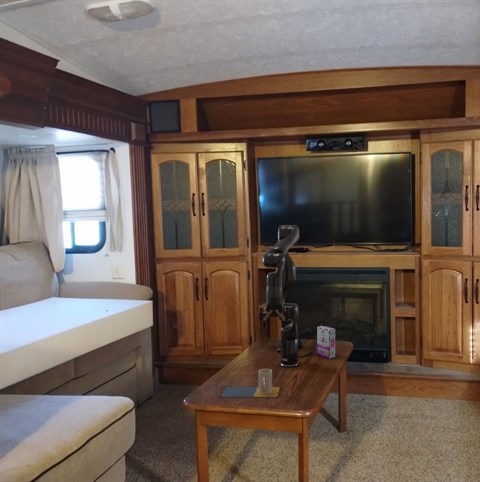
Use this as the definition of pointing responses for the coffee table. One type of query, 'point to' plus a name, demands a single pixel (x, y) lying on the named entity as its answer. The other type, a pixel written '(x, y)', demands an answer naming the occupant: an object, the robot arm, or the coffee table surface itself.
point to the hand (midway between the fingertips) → (274, 328)
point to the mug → (265, 381)
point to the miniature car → (280, 344)
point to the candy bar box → (326, 341)
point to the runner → (248, 392)
